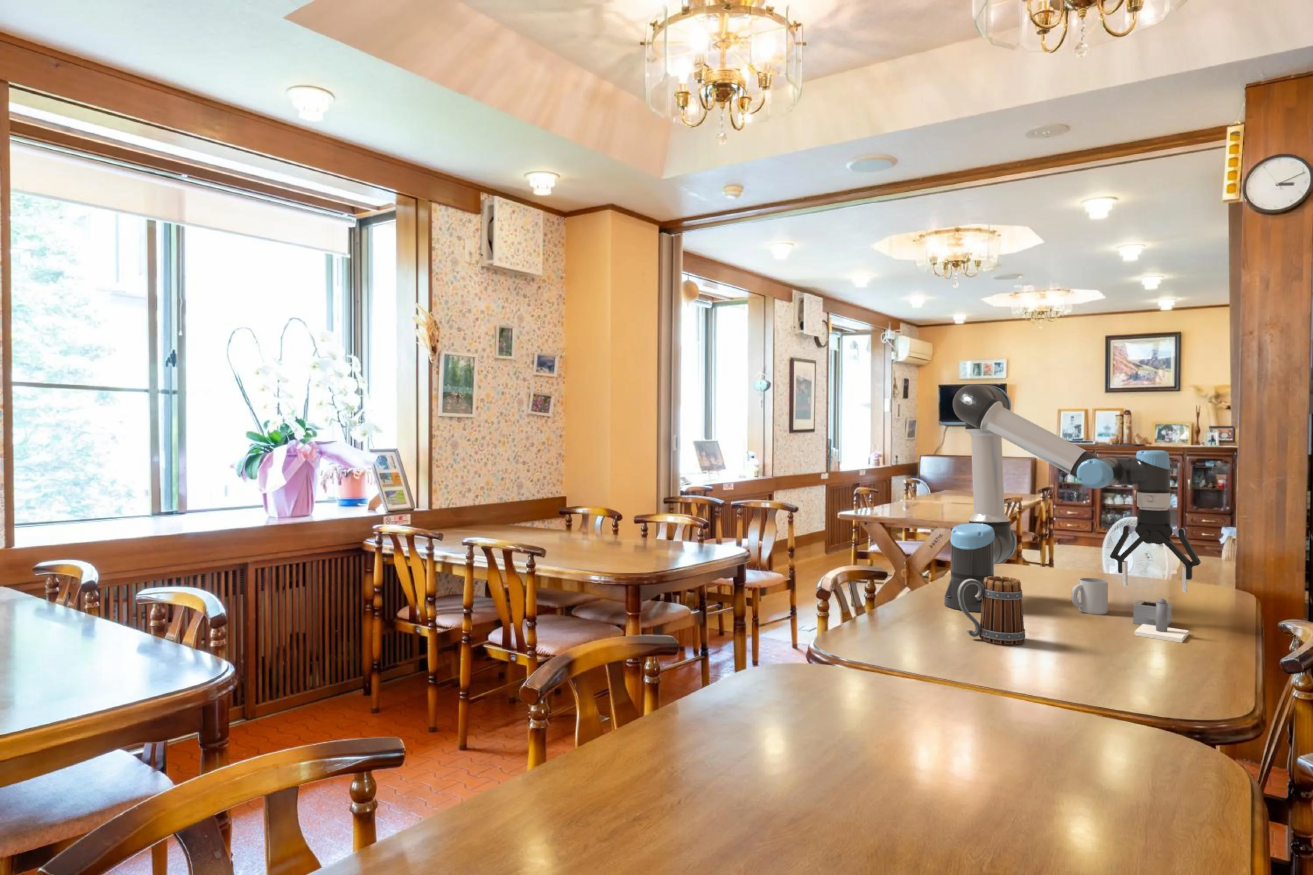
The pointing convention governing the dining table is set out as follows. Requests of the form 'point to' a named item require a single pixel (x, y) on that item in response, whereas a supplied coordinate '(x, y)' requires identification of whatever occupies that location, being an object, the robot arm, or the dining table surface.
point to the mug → (997, 610)
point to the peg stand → (1161, 626)
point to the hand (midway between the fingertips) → (1154, 588)
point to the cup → (1091, 596)
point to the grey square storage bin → (1148, 613)
